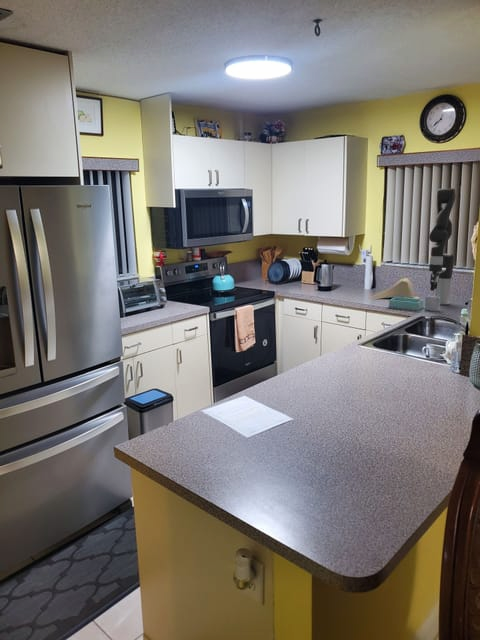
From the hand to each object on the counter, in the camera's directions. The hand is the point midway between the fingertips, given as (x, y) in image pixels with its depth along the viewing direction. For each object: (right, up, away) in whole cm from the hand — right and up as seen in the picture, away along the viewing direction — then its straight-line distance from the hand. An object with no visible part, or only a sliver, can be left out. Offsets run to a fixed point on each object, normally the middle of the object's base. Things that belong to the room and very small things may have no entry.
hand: (433, 289), depth 304 cm
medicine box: (0, -13, +3) cm, 13 cm away
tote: (-13, -11, +11) cm, 21 cm away
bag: (-11, -4, +45) cm, 46 cm away
